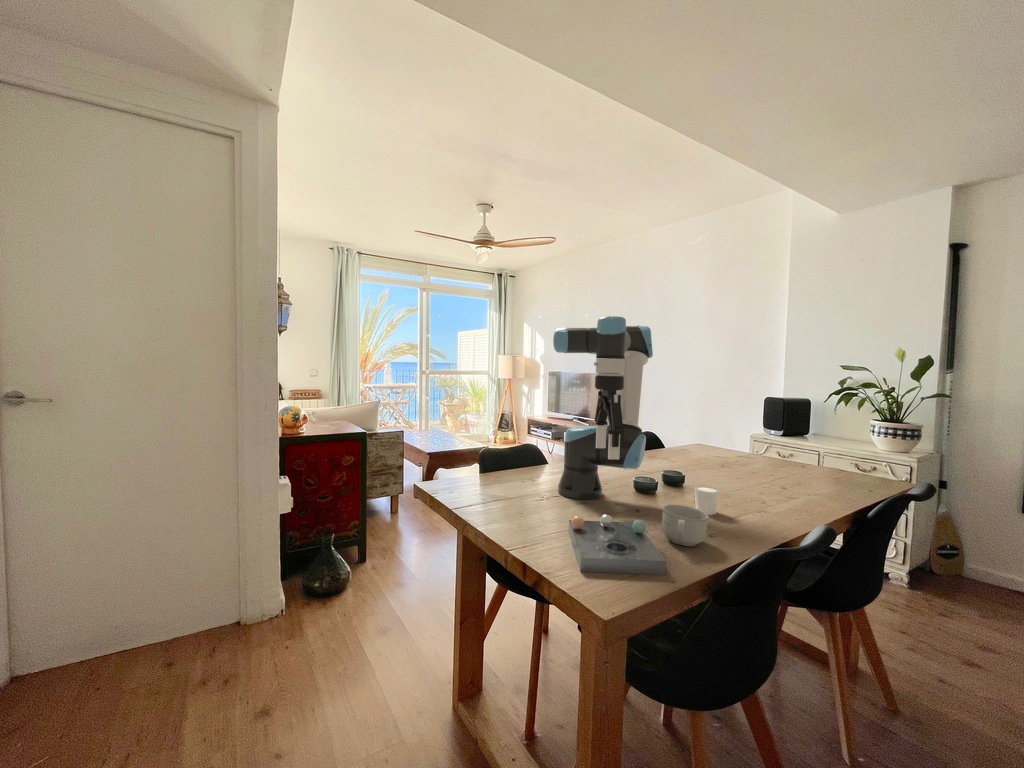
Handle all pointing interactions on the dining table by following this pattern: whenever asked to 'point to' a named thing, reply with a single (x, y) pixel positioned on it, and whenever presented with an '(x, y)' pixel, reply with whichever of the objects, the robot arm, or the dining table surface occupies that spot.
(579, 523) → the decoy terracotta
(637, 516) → the dining table surface
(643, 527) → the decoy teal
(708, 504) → the shot glass
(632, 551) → the plate
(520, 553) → the dining table surface
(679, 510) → the teacup
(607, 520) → the steel ball
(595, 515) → the dining table surface
